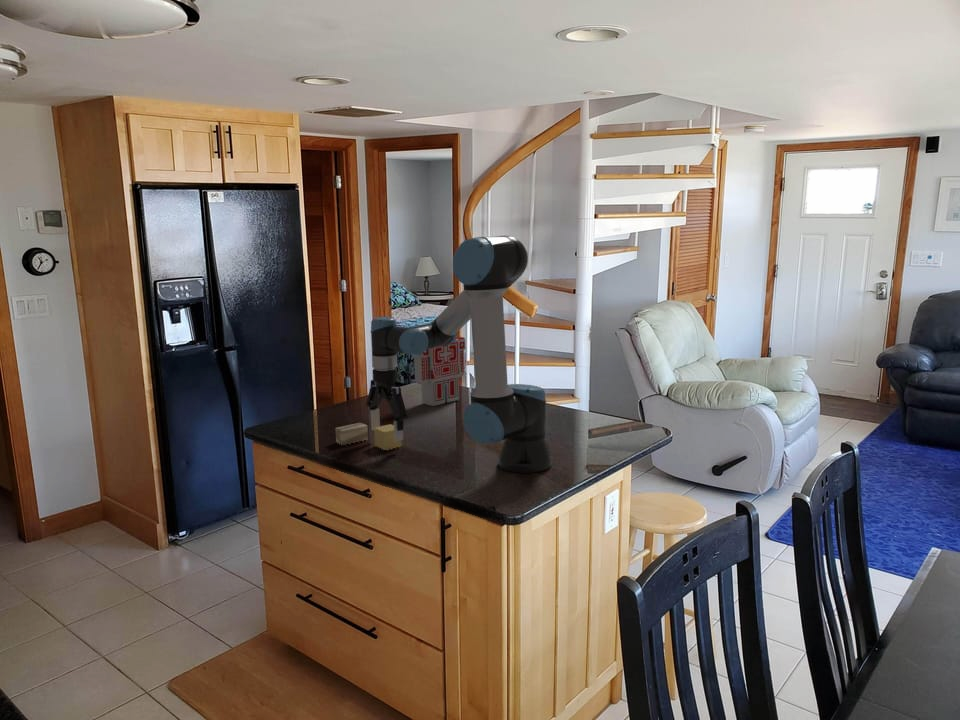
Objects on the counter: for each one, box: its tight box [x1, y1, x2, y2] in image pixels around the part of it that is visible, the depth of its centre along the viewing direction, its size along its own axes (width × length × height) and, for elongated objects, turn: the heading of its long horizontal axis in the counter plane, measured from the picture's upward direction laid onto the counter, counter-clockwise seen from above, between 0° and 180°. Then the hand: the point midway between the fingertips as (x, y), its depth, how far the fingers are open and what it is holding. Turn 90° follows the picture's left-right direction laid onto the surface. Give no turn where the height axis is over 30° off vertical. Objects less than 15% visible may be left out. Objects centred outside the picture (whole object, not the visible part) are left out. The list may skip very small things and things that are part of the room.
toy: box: [411, 335, 466, 407], centre depth 272 cm, size 22×8×30 cm, turn 132°
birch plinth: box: [335, 422, 369, 446], centre depth 229 cm, size 4×9×5 cm, turn 129°
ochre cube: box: [373, 423, 403, 451], centre depth 224 cm, size 6×6×6 cm
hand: (387, 434), depth 224 cm, fingers open, 13 cm apart
